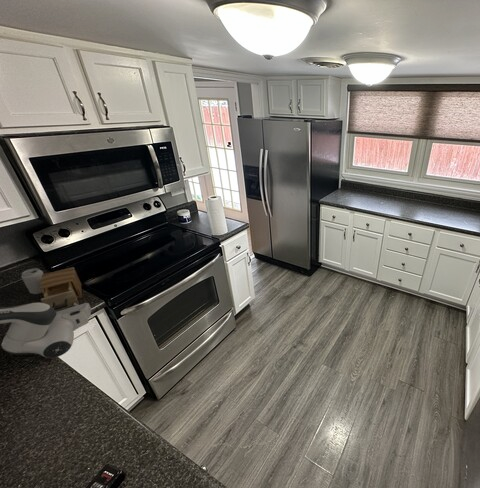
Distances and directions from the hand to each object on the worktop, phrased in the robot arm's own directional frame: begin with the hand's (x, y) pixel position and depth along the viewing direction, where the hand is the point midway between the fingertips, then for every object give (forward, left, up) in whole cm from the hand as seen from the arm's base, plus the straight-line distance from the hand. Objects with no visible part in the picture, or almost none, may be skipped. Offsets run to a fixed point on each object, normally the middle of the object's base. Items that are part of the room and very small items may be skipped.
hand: (59, 308), depth 116 cm
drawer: (0, +10, -5) cm, 11 cm away
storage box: (0, +23, -6) cm, 24 cm away
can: (-10, +35, -6) cm, 37 cm away
